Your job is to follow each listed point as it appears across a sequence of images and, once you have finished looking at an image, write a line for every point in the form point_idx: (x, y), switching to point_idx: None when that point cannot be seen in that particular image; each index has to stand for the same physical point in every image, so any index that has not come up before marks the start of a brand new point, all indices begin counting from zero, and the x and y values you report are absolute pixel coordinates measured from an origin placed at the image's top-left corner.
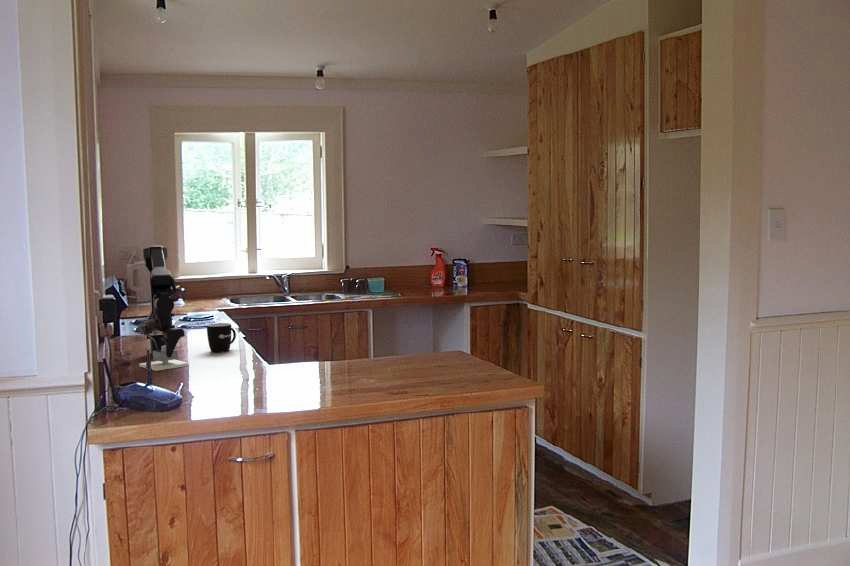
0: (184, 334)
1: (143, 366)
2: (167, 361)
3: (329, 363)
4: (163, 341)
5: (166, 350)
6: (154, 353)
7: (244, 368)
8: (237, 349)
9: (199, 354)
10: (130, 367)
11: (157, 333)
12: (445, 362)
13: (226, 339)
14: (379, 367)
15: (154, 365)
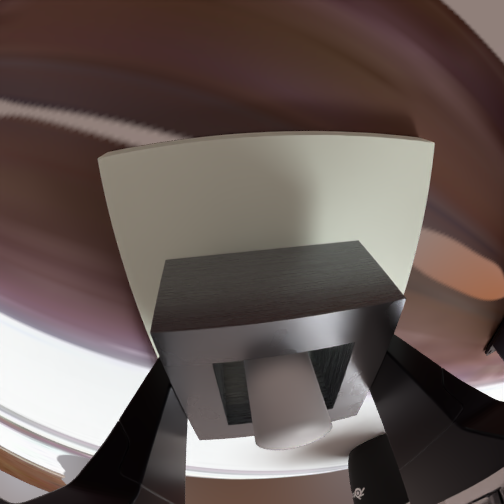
0: None
1: (361, 133)
2: None
3: (48, 471)
4: (405, 450)
5: (156, 398)
6: (349, 286)
7: (26, 421)
8: None
9: None
10: (438, 79)
11: (478, 502)
12: (27, 480)
13: (351, 487)
14: (6, 461)
15: (240, 194)
